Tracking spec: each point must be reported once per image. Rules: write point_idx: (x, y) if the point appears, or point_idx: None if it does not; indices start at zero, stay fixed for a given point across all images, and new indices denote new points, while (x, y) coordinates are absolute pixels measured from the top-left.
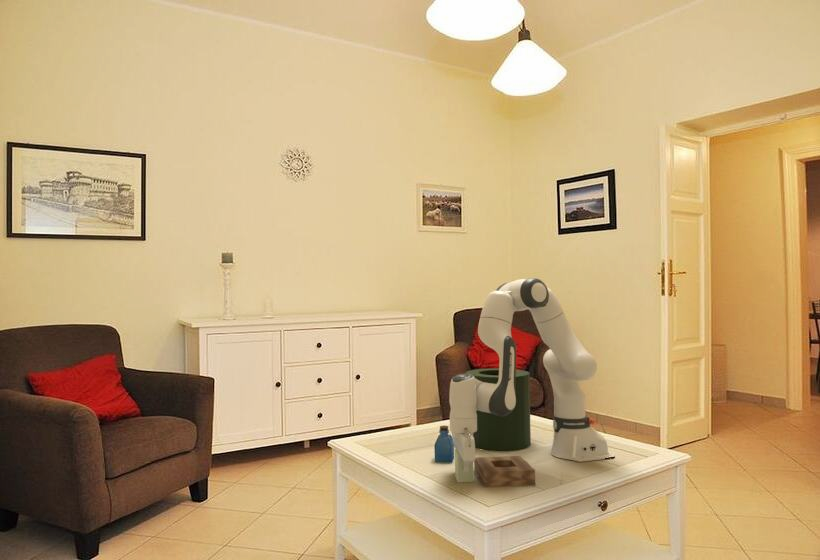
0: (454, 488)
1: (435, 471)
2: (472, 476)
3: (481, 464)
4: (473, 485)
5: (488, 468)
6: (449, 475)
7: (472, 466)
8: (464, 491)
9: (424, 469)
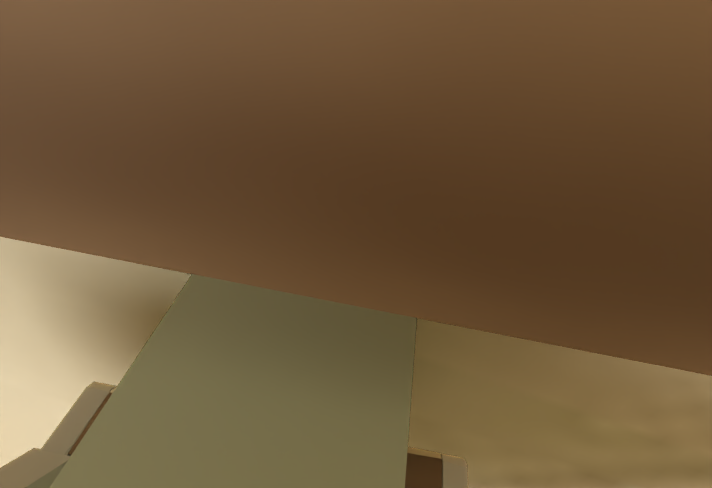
0: (543, 466)
1: (58, 421)
2: (415, 320)
3: (264, 245)
4: None
5: (637, 230)
6: None
7: (404, 447)
8: (676, 440)
9: (17, 456)
